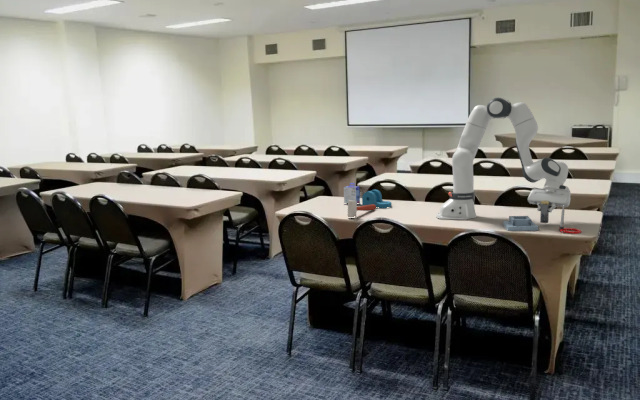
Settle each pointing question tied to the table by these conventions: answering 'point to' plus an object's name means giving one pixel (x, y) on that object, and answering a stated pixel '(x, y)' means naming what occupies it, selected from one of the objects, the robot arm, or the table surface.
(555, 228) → the table surface
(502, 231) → the table surface
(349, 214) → the mallet
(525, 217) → the block
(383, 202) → the camera mount
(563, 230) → the tow hook
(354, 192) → the ink cartridge box
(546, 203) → the key rod
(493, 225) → the table surface
